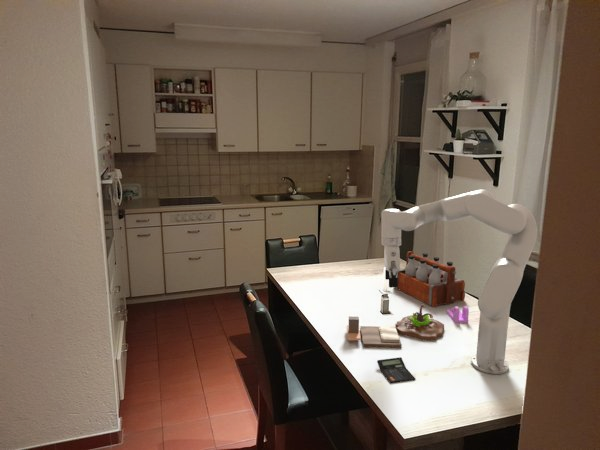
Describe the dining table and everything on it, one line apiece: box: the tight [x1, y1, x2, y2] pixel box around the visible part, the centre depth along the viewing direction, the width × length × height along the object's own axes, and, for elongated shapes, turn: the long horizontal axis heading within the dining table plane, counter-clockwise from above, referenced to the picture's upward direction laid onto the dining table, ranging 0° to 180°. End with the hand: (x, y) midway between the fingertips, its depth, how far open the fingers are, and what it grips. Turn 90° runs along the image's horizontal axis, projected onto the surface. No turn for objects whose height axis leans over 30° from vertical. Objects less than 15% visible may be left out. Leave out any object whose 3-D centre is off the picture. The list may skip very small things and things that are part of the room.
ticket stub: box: [346, 315, 362, 341], centre depth 189 cm, size 12×5×7 cm, turn 177°
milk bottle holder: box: [393, 250, 466, 307], centre depth 237 cm, size 21×35×19 cm, turn 27°
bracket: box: [447, 305, 470, 324], centre depth 210 cm, size 13×6×7 cm, turn 2°
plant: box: [394, 303, 445, 342], centre depth 196 cm, size 20×20×11 cm
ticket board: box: [359, 325, 402, 349], centre depth 189 cm, size 16×15×3 cm
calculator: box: [376, 357, 416, 384], centre depth 163 cm, size 9×12×3 cm
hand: (391, 283), depth 181 cm, fingers open, 9 cm apart
